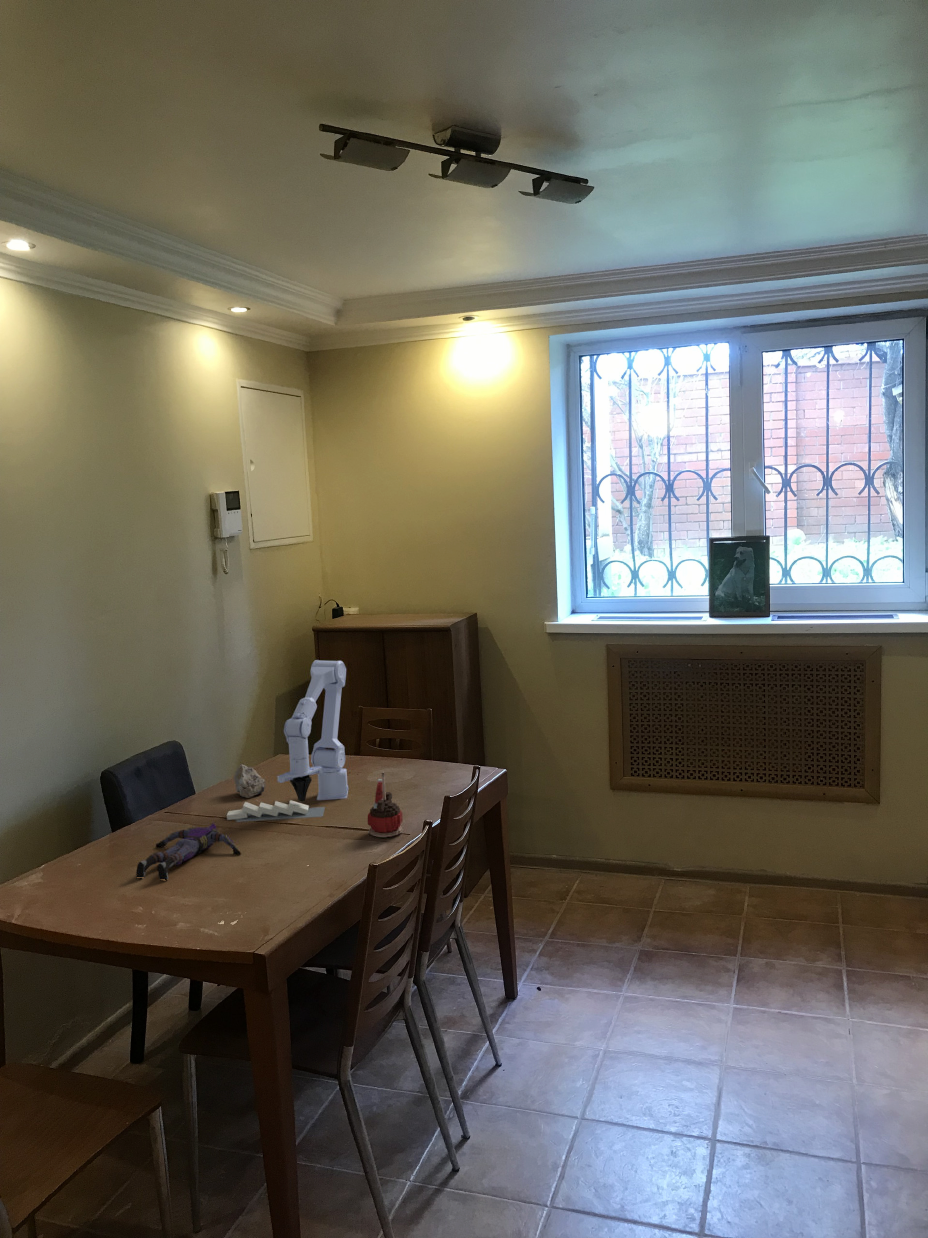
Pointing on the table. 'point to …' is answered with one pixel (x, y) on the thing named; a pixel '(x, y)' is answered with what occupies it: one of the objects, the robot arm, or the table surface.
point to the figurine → (183, 848)
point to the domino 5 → (298, 807)
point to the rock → (248, 782)
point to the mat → (286, 815)
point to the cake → (384, 813)
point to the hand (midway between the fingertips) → (301, 800)
